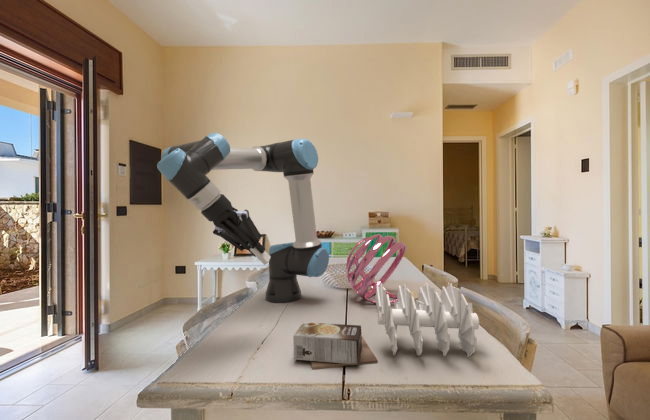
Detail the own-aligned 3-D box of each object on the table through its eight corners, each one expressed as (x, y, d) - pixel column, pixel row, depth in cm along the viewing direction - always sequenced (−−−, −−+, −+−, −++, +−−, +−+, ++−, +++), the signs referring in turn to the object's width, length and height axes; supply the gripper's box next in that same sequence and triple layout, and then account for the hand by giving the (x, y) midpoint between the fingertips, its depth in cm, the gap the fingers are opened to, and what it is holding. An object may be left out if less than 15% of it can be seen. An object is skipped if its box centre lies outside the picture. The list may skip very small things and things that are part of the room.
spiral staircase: (481, 376, 74) (378, 370, 75) (458, 321, 90) (373, 316, 91) (501, 321, 66) (385, 315, 67) (471, 271, 82) (378, 267, 83)
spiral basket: (439, 252, 120) (384, 214, 132) (408, 282, 99) (346, 234, 111) (408, 297, 135) (361, 259, 146) (376, 331, 114) (324, 284, 126)
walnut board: (305, 337, 89) (305, 335, 89) (358, 332, 91) (358, 330, 91) (312, 369, 71) (312, 366, 71) (377, 362, 73) (377, 360, 73)
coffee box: (302, 321, 83) (361, 324, 80) (303, 344, 83) (362, 348, 80) (292, 335, 74) (358, 339, 71) (293, 361, 74) (359, 366, 71)
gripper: (188, 219, 80) (247, 276, 89) (221, 199, 75) (280, 262, 84) (202, 204, 86) (256, 259, 95) (233, 184, 81) (287, 244, 90)
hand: (267, 260), depth 90 cm, fingers closed
